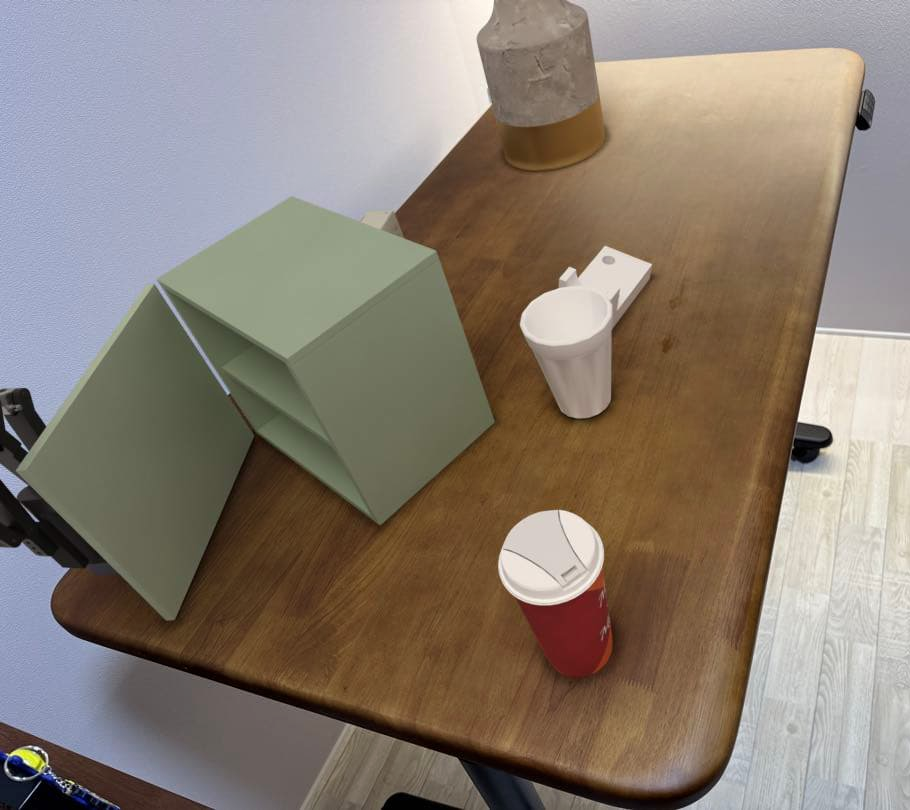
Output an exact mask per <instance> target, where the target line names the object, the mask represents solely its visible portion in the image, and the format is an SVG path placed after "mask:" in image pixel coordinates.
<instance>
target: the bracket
mask: <svg viewBox="0 0 910 810" xmlns="http://www.w3.org/2000/svg"><path fill="white" fill-rule="evenodd" d="M652 268H653V263H651V262H648V261H645V260H642V259H640V258H638V257H636V256H635V257H634V256H633V255H630V254H627V253H625V252H623V251H619V250H617V249H615V248H612V247H610V246H607V245H604V246H603V247H602V248H601V250H600V251H599V252H598V254H596V256H595V257H594V258H593V259H592V261H591V262H590V263H589V264H588V265H587V266H586V267H585V269H584V270H583V271H582V272H581V274H580V275H579V276H578V274H577V269H576V268H574V267H572V266H568V268H567V269H566V270H565V271H564V272H563V273H562V275H561V276H560V277H559V278H558V288H562V287H572V286H581V287H588V288H593V289H595V290H597V291H599V292H601V293H603V294H605V295H606V296H607V297H608V299H609V301H610V302H611V304H612V308H613V324H612V330H613V329H614V327H616V325H617V323H618V322H619V321H620V319H621V318H622V317H623V316H624V314H625V313H626V312H627V310H628V309H629V307H630V306H631V305H632V303H633V302H634V301H635V299H636V298H637V297H638V295H639V294H640V293H641V291H642V290H643V289H644V287H645V286H646V285H647V283H648V282H649V281H650V279H651V274H652Z"/></svg>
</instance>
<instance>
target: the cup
mask: <svg viewBox="0 0 910 810" xmlns="http://www.w3.org/2000/svg"><path fill="white" fill-rule="evenodd" d="M612 324H613V308H612V304H611V302H610V301H609V299H608V297H607V296H606V295H605V294H603V293H601V292H599V291H597V290H595V289H593V288H588V287H581V286H572V287H562V288H559V287H558V288H555V289H553V290H549V291H547V292H544V293H542V294H541V295H539V296H538V297H536V298H534V299H533V300H532V301H531V302H529V304H528V305H527V307H526V308H525V309H524V310H523V311H522V313H521V316H520V321H519V327H520V329H521V332H522V334H523V336H524V339H525V341H526V343H527V345H528V347H529V348H530V349H531V351H532V353H533V355H534V357H535V359H536V362H537V364H538V365H539V367H540V370H541V372H542V374H543V376H544V378H545V381H546V383H547V385H548V386H549V390H550V391H551V393H552V395H553V397H554V400H555V402H556V403H557V406H558V408H559V410H560V412H561V413H563V414H564V415H566V416H567V417H568V418H574V419H589V418H592V417H595V416H597V415H599V414H601V413H602V412H603V411H605V410H606V409H607V408H608V406H609V405H610V403H611V400H612V331H613V329H612Z"/></svg>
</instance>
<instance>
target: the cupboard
mask: <svg viewBox="0 0 910 810" xmlns="http://www.w3.org/2000/svg"><path fill="white" fill-rule="evenodd" d="M156 281H157V284H159V286H160V287H161V290H163V292H164V294H165V295H166V297H167V298H168V300H169V301H170V303H171V304H172V306H173V307H174V309H175V310H176V312H177V313H178V315H179V317H180V318H181V321H183V323H184V324H185V326H186V327H187V329H188V330H189V332H190V334H191V335H192V336H193V338H194V340H195V341H196V342H197V344H198V346H199V348H200V349H201V351H202V352H203V353H204V355H205V357H206V358H207V360H208V362H209V363H210V364H211V366H212V367H213V369H214V370H215V372H216V373H217V375H218V377H219V378H220V380H221V381H222V383H223V384H224V385H225V387H226V389H227V390H228V392H229V393H230V395H231V396H232V398H233V400H234V401H235V402H236V403H235V404H237V405H238V407H239V409H240V410H241V412H242V413H243V415H244V416H245V418H246V419H247V421H248V422H249V424H250V425H251V428H252V429H253V430H254V432H255V433H256V434H257V435H258V436H259V437H261V438H262V439H264V440H265V441H266V442H267V443H269V444H270V445H272V446H273V447H274V448H275V449H277V450H278V451H280V453H282V454H283V455H285V456H286V457H287V458H288V459H290V460H292V461H293V462H294V463H295V464H297V465H298V466H299V467H301V468H302V469H304V470H305V471H306V472H308V473H309V474H310V475H312V476H313V477H314V478H316V479H317V480H318V481H319V482H321V483H322V484H324V485H325V486H326V487H327V488H329V489H330V490H332V491H333V492H334V493H336V494H337V495H339V496H340V497H341V498H343V499H344V500H345V501H346V502H348V503H349V504H351V505H352V507H354V508H356V509H357V510H358V511H360V512H361V513H363V514H364V515H365V516H367V517H368V518H369V519H371V520H372V521H373V522H374V523H376V524H377V525H379V526H382V525H383V524H384V523H385V522H386V521H387V520H388V519H389V518H390V517H392V516H393V515H394V514H395V513H396V512H397V511H398V510H400V509H401V508H402V507H403V506H404V505H405V504H406V503H407V502H408V501H409V500H411V499H412V498H413V497H414V496H415V495H416V494H417V493H418V492H420V490H422V488H424V487H425V486H426V485H428V483H429V482H431V481H432V480H433V479H434V478H435V477H437V475H439V473H441V472H442V471H444V469H445V468H446V467H447V466H449V464H451V463H452V462H453V461H454V460H455V459H456V458H457V457H458V456H460V454H461V453H463V452H464V451H465V450H466V449H467V448H468V447H469V446H470V445H472V444H473V443H474V442H475V441H476V440H477V439H478V438H479V437H481V436H482V435H483V434H484V433H485V432H487V430H488V429H489V428H491V427H492V426H493V425H494V424H495V423H496V421H495V418H494V415H493V412H492V408H491V407H490V404H489V400H488V398H487V394H486V392H485V389H484V386H483V382H482V380H481V377H480V374H479V371H478V368H477V366H476V362H475V360H474V356H473V353H472V350H471V348H470V345H469V342H468V339H467V336H466V334H465V330H464V327H463V324H462V322H461V319H460V315H459V313H458V309H457V306H456V304H455V301H454V299H453V295H452V292H451V289H450V286H449V284H448V281H447V278H446V275H445V272H444V268H443V266H442V263H441V260H440V257H439V254H438V252H437V250H436V249H433V248H431V247H427V246H425V245H422V244H420V243H417V242H414V241H412V240H409V239H407V238H405V237H404V238H401V237H399V236H396V235H394V234H391V233H388V232H386V231H383V230H380V229H378V228H375V227H372V226H370V225H367V224H364V223H362V222H360V220H356V219H354V218H351V217H349V216H347V215H343V214H340V213H339V212H338V213H337V212H336V211H333V210H330V209H327V208H324V207H322V206H319V205H318V204H317V205H316V204H314V203H311V202H309V201H306V200H303V199H301V198H298V197H295V196H293V195H292V196H289V197H287V198H286V199H284V200H283V201H281V202H279V203H278V204H277V205H275V206H273V207H271V208H270V209H268V210H267V211H265V212H263V213H261V214H260V215H259V216H257V217H255V218H254V219H251V220H250V221H249V222H246V223H245V224H244V225H242V226H240V227H239V228H237V229H235V230H234V231H232V232H230V233H229V234H227V235H226V236H224V237H222V238H221V239H219V240H217V241H216V242H214V243H212V244H210V245H209V246H207V247H206V248H205V249H203V250H201V251H199V252H197V253H196V254H195V255H193V256H192V257H190V258H188V259H186V260H185V261H183V262H182V263H180V264H178V265H176V266H175V267H173V268H172V269H170V270H168V271H167V272H165V273H163V274H162V275H160V276H159V277H157V278H156Z"/></svg>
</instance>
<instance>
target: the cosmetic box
mask: <svg viewBox="0 0 910 810" xmlns="http://www.w3.org/2000/svg"><path fill="white" fill-rule="evenodd" d="M359 222H362V223H364V224H367V225H370V226H372V227H375V228H378V229H380V230H383V231H386V232H388V233H391V234H394V235H396V236H399V237H401V238H404V239H405V236H404V234H403V232H402V228H401V226H400V224H399V221H398V218H397V216H396V213H395V210H394V209H381V210H378V209H377V210H367V211H366V213H364V215H363V217H362V218H361V219H360V220H359Z"/></svg>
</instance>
